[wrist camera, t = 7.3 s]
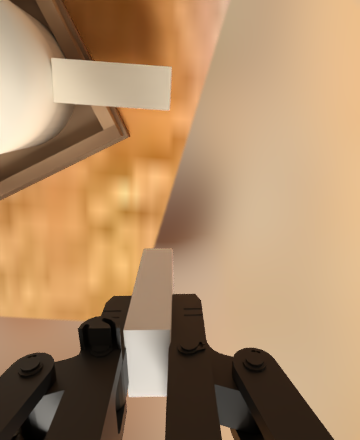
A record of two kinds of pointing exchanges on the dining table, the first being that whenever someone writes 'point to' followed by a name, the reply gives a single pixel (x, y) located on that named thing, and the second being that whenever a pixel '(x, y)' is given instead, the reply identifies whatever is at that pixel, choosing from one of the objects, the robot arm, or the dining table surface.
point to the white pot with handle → (61, 82)
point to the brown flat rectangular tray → (78, 123)
